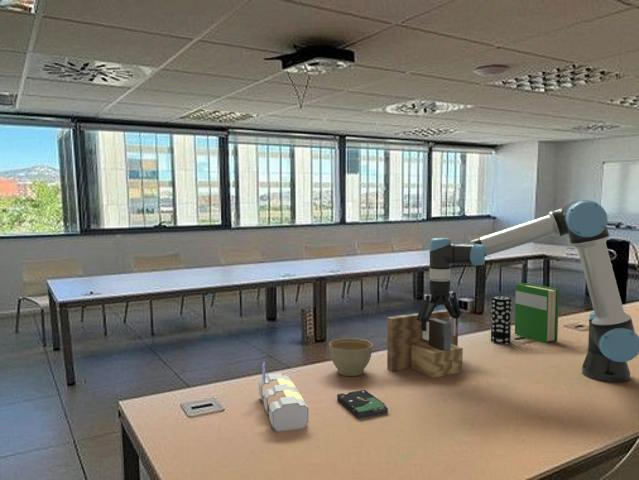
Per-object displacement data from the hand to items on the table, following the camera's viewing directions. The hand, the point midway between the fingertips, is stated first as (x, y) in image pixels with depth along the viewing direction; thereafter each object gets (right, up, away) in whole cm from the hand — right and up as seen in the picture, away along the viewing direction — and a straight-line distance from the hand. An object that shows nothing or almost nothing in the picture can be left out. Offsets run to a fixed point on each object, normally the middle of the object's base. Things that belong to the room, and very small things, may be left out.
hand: (439, 337), depth 184 cm
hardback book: (+55, -9, +44) cm, 72 cm away
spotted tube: (+37, -10, +39) cm, 54 cm away
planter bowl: (-33, -13, 0) cm, 36 cm away
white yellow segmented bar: (-56, -16, -34) cm, 68 cm away
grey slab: (0, -10, +1) cm, 10 cm away
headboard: (-1, -13, +3) cm, 13 cm away
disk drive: (-32, -16, -31) cm, 47 cm away
